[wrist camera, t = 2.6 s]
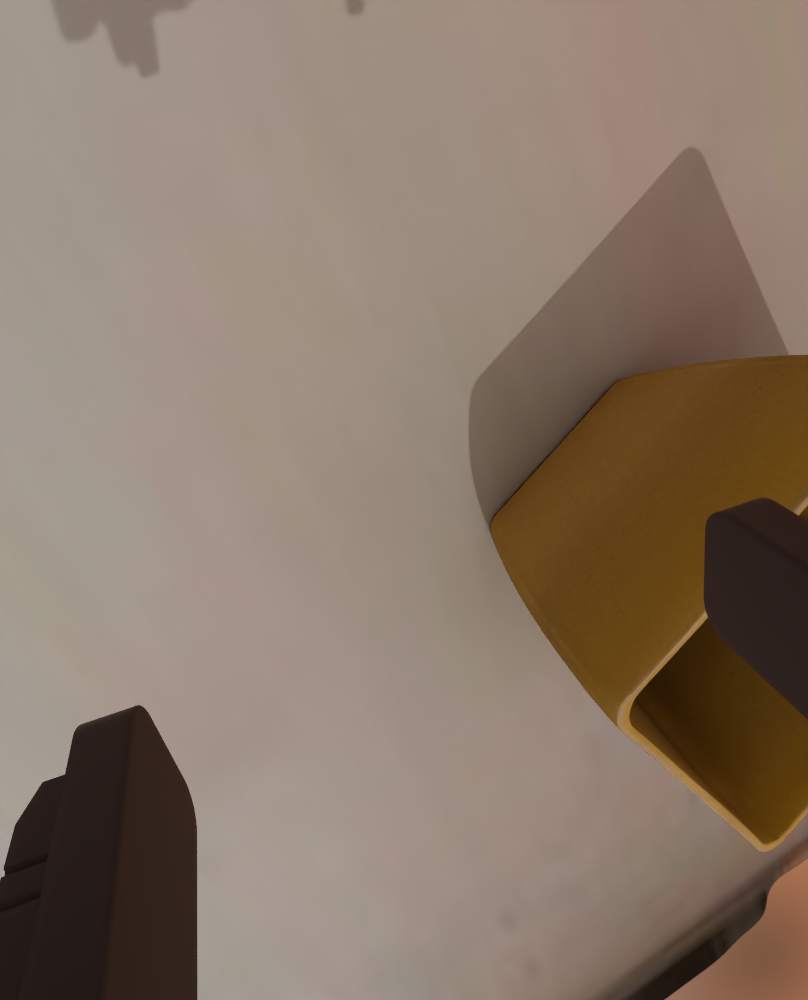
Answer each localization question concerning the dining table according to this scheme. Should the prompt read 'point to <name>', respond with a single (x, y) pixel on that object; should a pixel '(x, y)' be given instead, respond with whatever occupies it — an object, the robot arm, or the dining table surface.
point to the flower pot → (670, 573)
